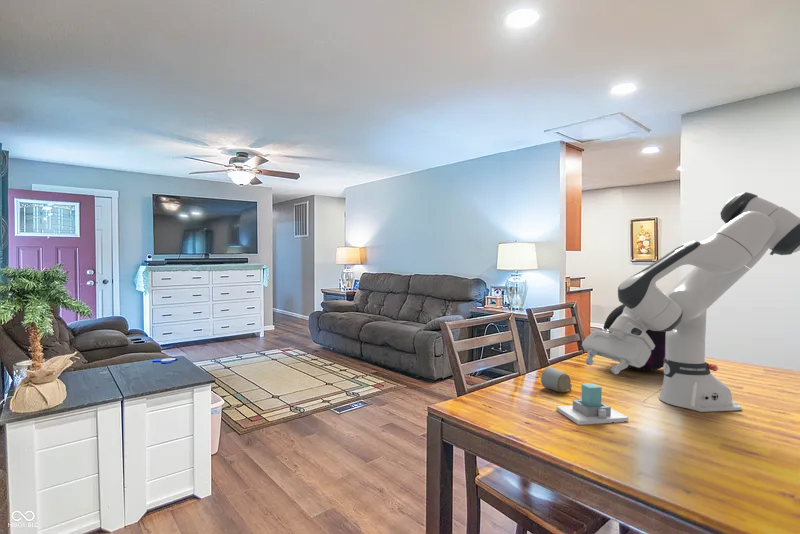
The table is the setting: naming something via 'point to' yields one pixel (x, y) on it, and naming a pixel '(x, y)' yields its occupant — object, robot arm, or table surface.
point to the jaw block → (591, 395)
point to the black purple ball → (656, 336)
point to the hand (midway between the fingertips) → (600, 368)
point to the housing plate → (591, 413)
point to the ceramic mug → (555, 380)
